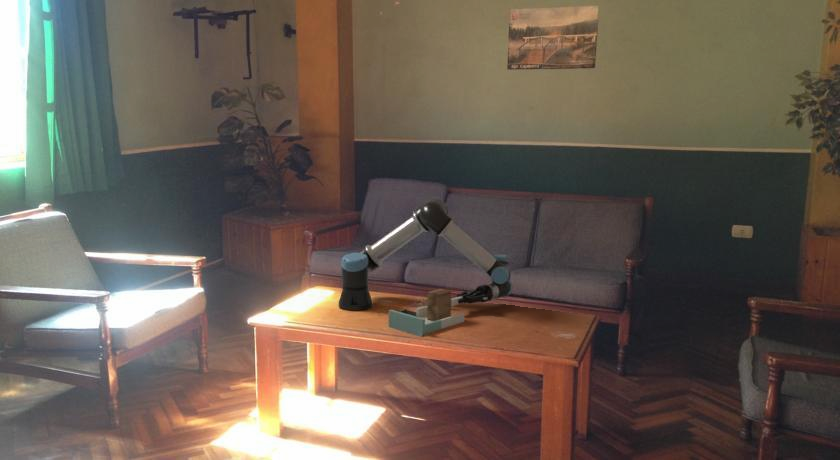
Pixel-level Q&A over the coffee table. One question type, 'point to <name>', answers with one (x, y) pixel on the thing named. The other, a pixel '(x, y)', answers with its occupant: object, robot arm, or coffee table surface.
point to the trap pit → (408, 312)
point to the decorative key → (420, 303)
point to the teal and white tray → (420, 322)
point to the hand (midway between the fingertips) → (451, 302)
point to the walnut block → (438, 304)
